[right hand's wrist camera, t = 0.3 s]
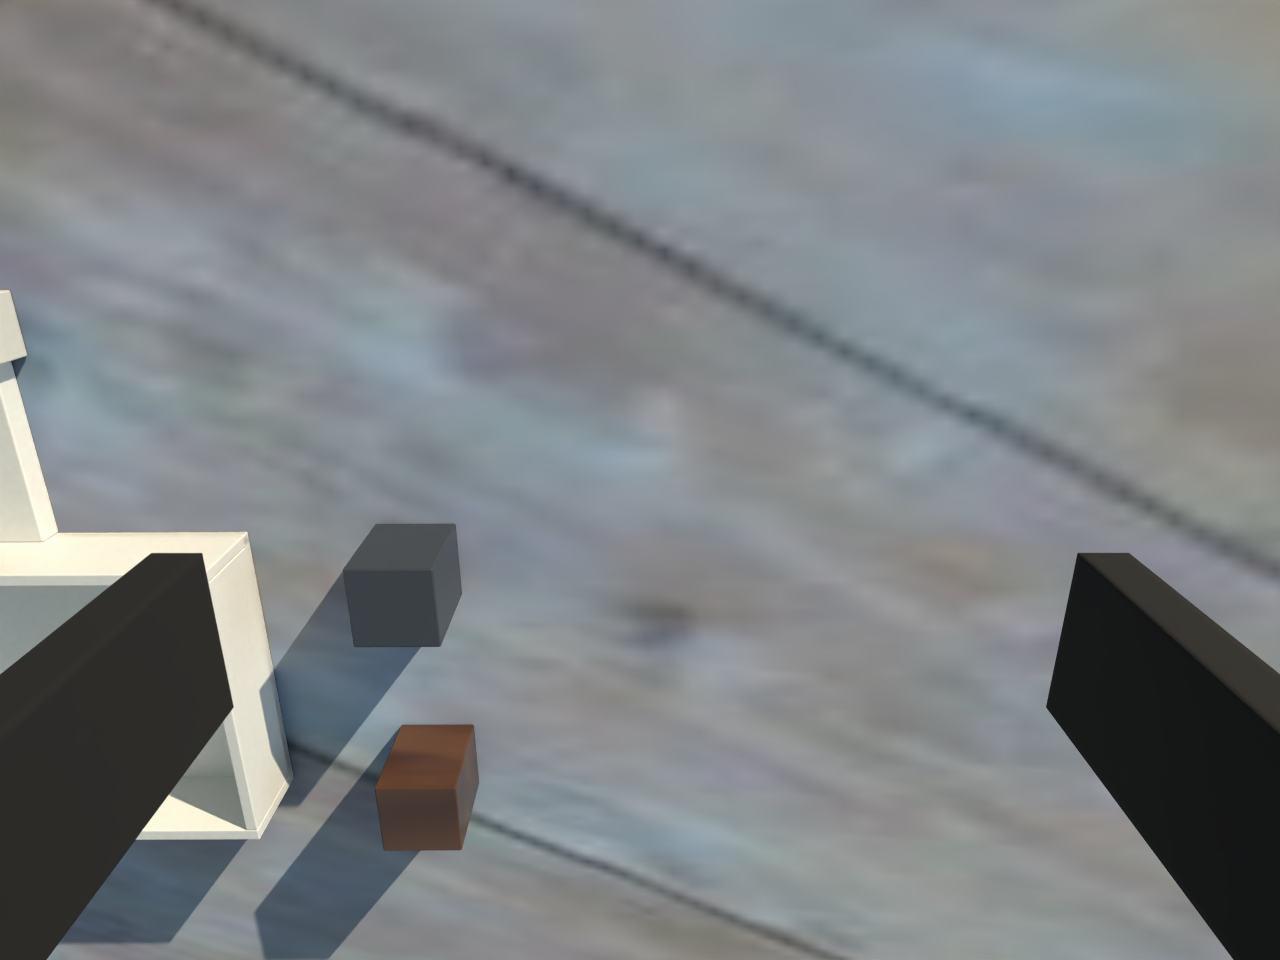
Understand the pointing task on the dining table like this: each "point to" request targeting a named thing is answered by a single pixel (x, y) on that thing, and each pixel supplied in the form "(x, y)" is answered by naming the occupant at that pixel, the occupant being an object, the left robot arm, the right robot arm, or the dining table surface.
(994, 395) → the dining table surface
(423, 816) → the walnut block
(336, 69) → the dining table surface
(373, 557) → the charcoal block
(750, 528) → the dining table surface
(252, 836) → the tray
